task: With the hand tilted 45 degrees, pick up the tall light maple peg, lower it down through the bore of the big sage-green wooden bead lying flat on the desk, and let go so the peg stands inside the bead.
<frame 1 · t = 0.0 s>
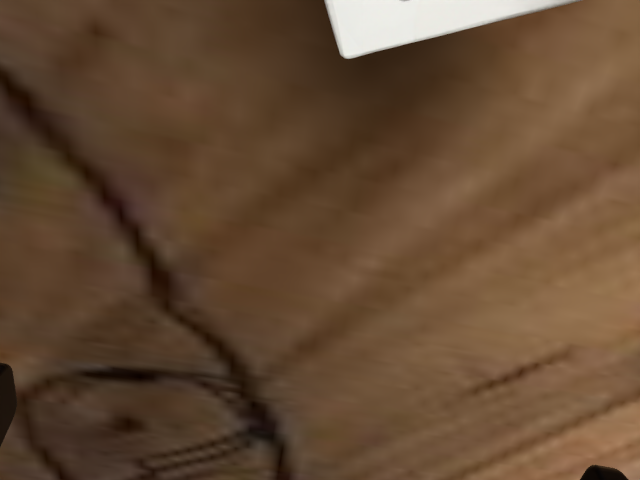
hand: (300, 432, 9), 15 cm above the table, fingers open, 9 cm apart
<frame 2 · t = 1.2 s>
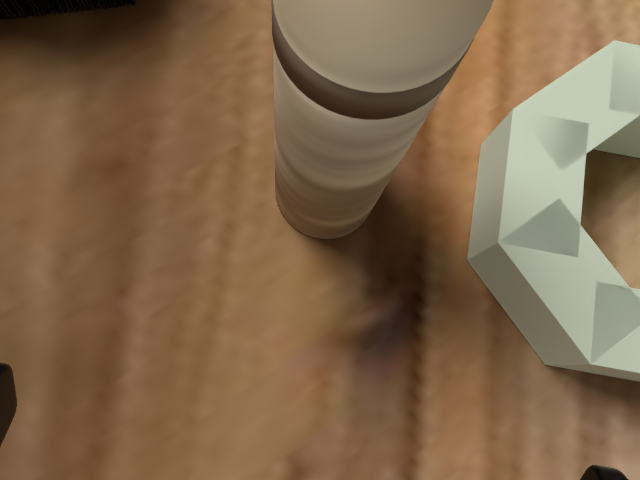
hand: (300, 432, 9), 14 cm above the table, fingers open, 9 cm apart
sage bead: (617, 227, 25), on the table
maple peg: (325, 190, 24), on the table
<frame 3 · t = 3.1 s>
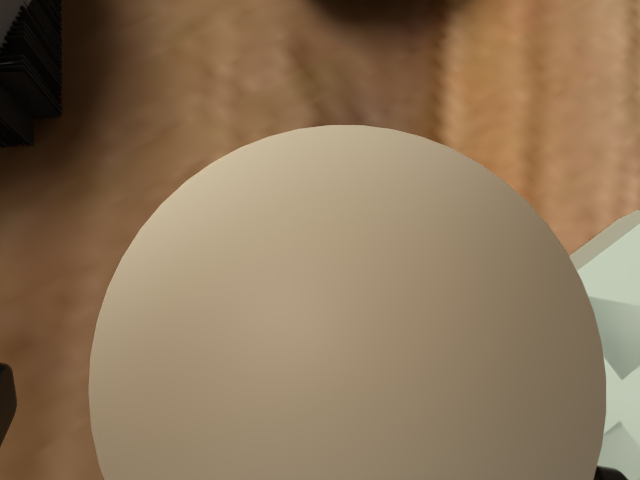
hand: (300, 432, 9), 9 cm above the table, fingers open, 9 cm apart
maple peg: (298, 374, 18), on the table
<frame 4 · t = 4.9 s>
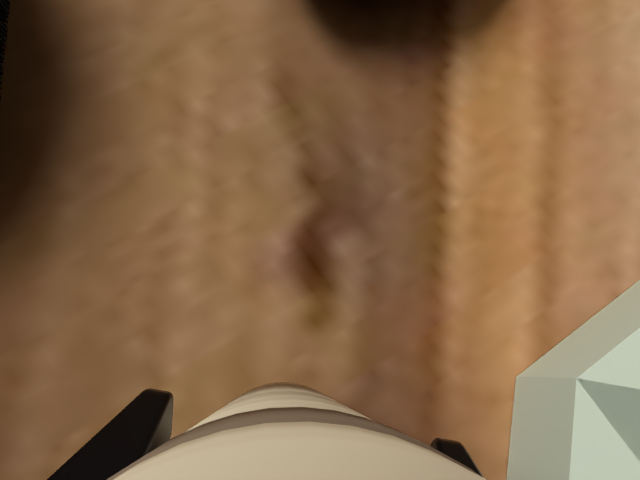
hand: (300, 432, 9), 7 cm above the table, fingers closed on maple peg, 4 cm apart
maple peg: (281, 460, 16), on the table, touching gripper
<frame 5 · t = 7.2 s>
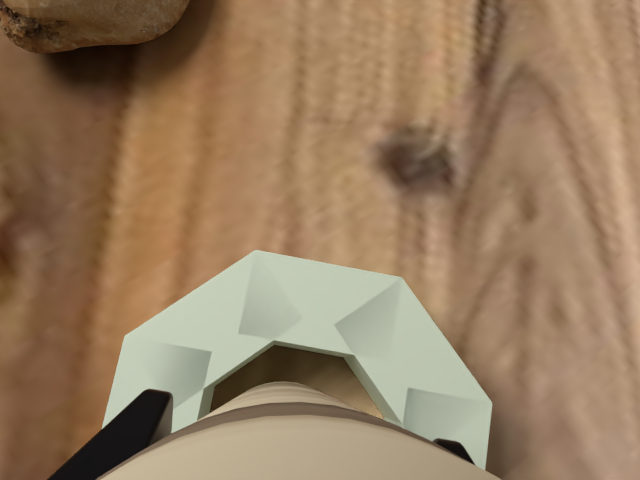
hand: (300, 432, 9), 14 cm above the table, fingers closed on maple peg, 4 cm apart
sage bead: (293, 438, 22), on the table
maple peg: (281, 459, 16), point 6 cm above the table, touching gripper
when the fingers open (8 cm above the table, at t = 9.9 s): maple peg drops 1 cm, resting in sage bead.
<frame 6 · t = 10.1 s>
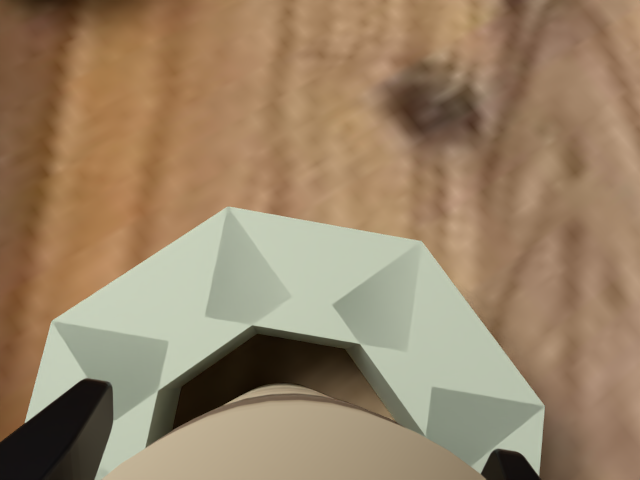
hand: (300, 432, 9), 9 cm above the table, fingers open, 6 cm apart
sage bead: (281, 452, 17), on the table
maple peg: (281, 454, 17), resting in sage bead
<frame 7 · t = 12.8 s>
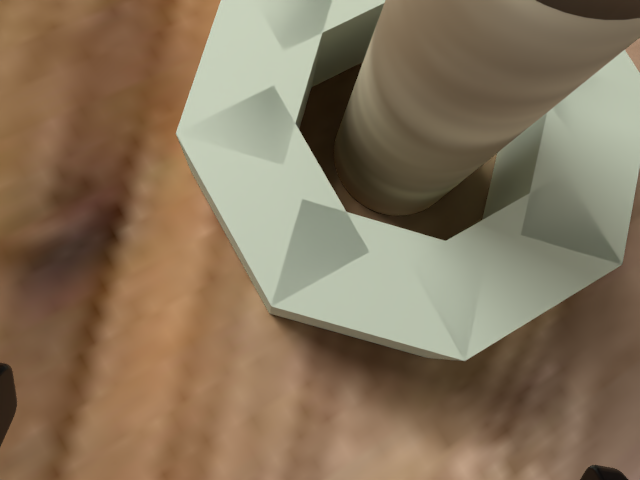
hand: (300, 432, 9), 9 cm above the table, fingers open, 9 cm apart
sage bead: (396, 153, 19), on the table
maple peg: (395, 154, 19), resting in sage bead
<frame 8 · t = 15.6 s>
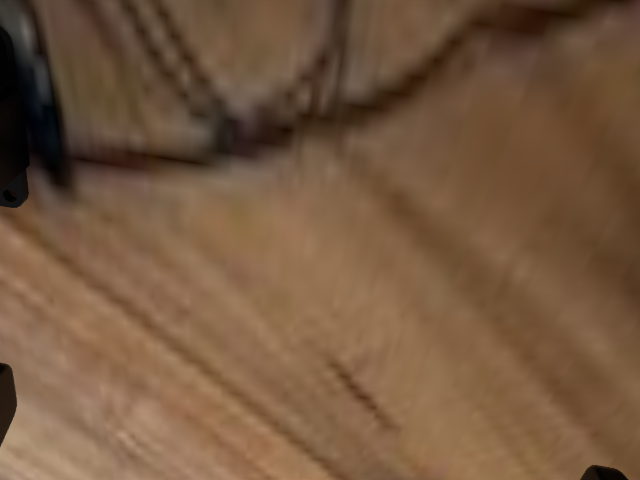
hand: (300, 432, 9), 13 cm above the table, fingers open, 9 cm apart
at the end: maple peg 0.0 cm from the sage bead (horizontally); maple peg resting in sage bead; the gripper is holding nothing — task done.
